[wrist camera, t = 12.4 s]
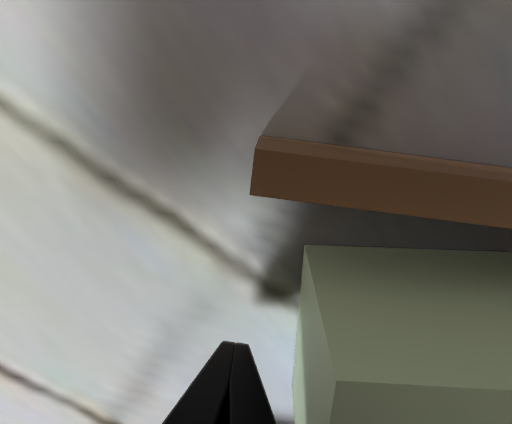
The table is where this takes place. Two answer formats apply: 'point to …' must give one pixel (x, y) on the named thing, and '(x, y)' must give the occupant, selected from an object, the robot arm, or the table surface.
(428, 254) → the sage green block
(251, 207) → the table surface
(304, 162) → the walnut slot rack
